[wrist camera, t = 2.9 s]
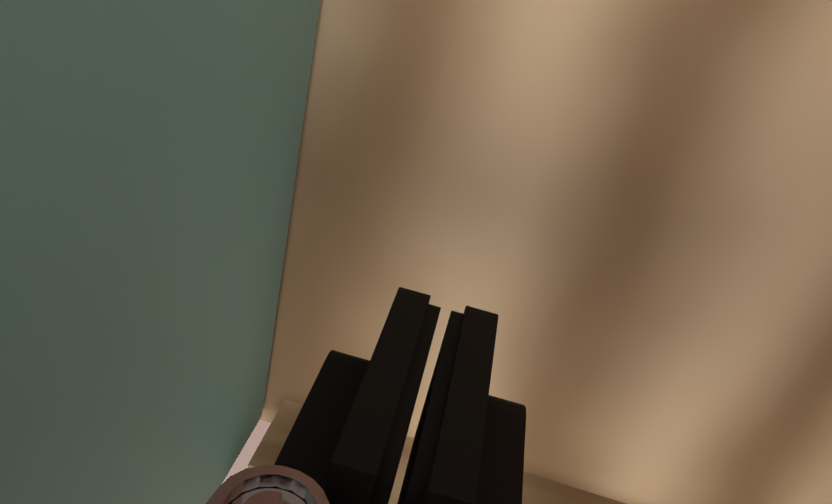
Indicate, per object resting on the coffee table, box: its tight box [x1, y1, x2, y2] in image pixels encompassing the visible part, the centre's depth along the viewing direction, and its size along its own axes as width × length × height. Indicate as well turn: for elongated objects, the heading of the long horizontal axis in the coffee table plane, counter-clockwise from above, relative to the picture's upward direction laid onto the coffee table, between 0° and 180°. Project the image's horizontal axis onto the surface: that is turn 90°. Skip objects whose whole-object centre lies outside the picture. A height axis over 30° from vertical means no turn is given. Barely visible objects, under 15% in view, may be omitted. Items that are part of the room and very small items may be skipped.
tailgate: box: [0, 0, 320, 504], centre depth 13 cm, size 2×19×12 cm, turn 168°
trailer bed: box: [248, 0, 832, 504], centre depth 16 cm, size 20×20×10 cm
